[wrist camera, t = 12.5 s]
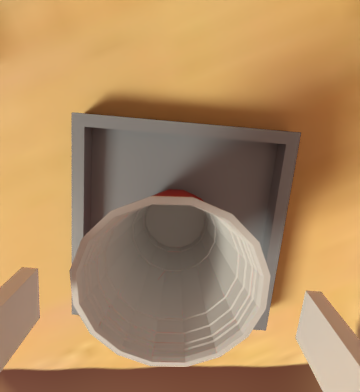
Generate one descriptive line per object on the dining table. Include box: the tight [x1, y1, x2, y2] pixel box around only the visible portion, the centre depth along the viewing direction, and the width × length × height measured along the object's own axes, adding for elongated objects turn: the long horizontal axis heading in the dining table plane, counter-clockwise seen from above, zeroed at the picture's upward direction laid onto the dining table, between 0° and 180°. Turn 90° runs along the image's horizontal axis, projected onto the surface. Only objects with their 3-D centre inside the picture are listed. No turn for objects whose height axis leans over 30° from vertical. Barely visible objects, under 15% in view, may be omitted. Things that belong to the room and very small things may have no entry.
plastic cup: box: [70, 189, 271, 367], centre depth 22 cm, size 11×11×12 cm
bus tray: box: [72, 113, 301, 330], centre depth 27 cm, size 18×18×3 cm
